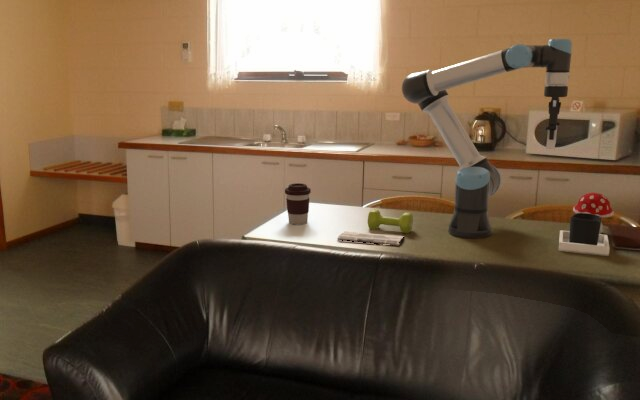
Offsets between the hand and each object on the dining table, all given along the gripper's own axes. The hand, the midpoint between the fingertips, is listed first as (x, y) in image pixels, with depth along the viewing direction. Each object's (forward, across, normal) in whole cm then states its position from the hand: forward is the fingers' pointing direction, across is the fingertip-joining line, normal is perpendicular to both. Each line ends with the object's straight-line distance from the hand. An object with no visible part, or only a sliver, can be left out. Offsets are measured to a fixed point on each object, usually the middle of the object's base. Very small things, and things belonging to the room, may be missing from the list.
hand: (551, 146), depth 207 cm
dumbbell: (+32, -18, +53) cm, 64 cm away
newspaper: (+33, -32, +55) cm, 72 cm away
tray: (+32, -13, -13) cm, 37 cm away
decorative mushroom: (+32, +6, -16) cm, 36 cm away
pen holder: (+31, -13, -13) cm, 36 cm away
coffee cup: (+32, -21, +89) cm, 97 cm away
